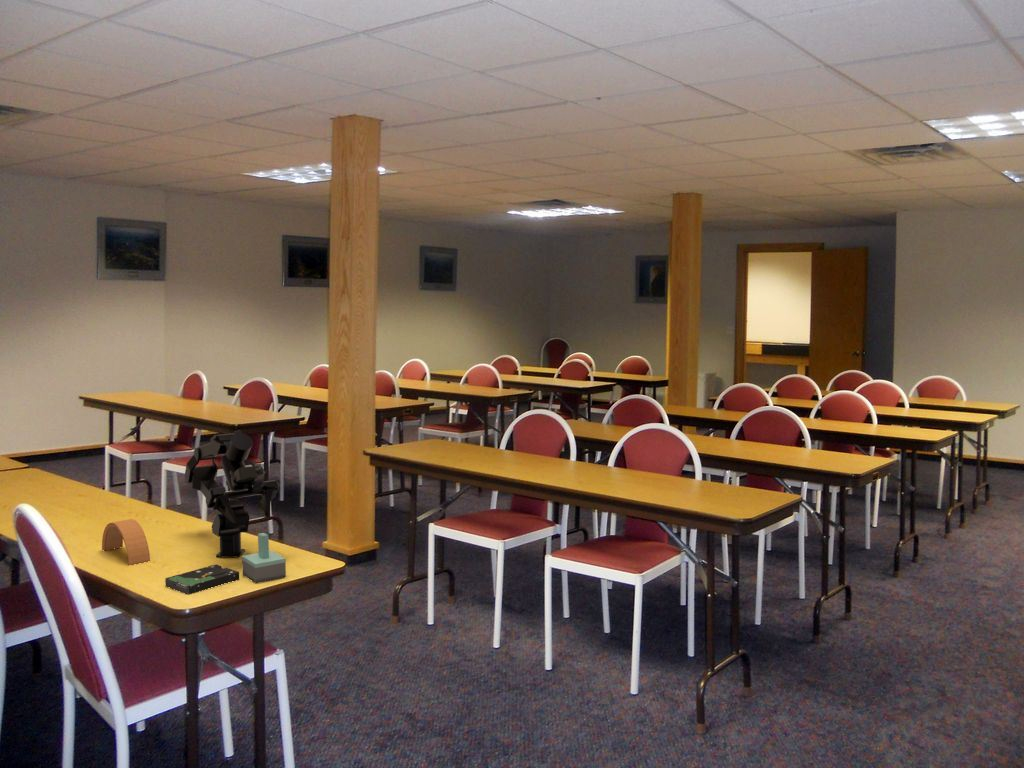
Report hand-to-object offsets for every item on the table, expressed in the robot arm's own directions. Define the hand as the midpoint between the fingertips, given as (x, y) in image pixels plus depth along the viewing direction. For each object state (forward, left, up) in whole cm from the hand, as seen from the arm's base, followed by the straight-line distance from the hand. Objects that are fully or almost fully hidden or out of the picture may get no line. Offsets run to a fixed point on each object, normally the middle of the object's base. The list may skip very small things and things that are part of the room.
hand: (251, 519), depth 231 cm
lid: (+6, +4, -10) cm, 13 cm away
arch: (-13, -39, -14) cm, 43 cm away
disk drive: (+11, -10, -14) cm, 20 cm away
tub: (+6, +4, -13) cm, 15 cm away
